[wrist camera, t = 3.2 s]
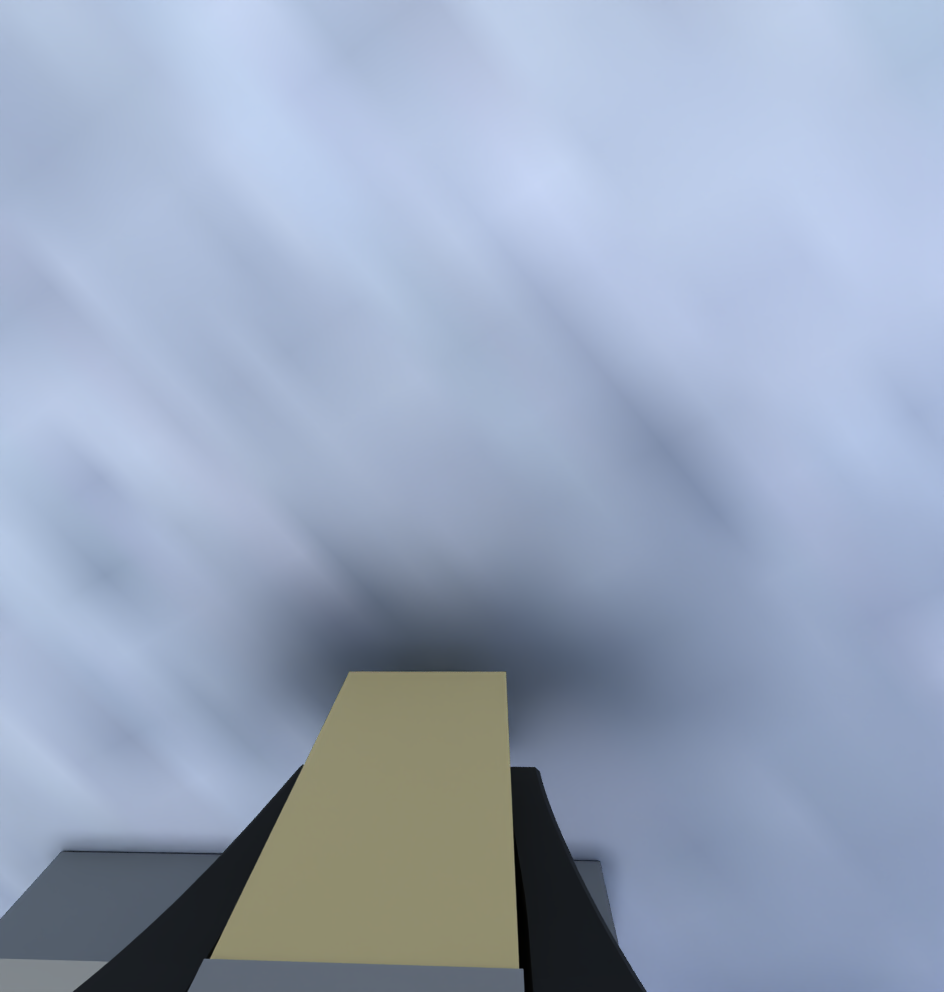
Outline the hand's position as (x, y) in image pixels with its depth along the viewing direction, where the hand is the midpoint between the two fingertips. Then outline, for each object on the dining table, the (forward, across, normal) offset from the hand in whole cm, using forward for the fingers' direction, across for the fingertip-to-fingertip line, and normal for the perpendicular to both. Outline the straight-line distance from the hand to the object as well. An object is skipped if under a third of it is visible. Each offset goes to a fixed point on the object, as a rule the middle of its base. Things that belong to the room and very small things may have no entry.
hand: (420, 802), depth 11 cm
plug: (+2, 0, 0) cm, 2 cm away
